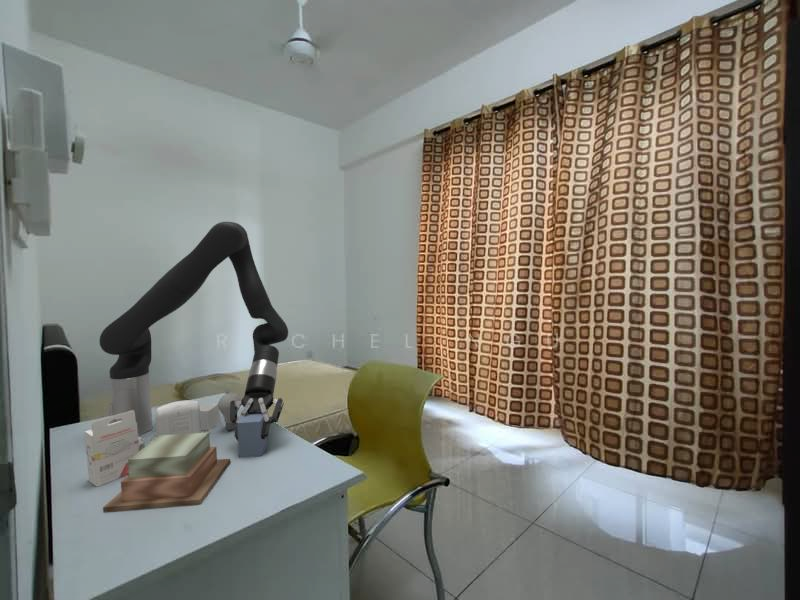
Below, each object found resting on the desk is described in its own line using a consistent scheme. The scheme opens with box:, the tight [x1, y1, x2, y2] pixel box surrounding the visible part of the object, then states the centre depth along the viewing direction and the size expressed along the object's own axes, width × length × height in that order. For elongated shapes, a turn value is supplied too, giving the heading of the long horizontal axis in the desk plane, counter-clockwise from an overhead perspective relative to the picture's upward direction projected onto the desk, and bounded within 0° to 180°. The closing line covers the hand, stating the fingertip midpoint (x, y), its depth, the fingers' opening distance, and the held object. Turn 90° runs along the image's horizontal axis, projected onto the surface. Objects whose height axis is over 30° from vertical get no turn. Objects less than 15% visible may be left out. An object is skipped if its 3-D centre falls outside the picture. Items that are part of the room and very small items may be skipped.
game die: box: [138, 436, 146, 450], centre depth 94 cm, size 4×4×3 cm
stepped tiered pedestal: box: [102, 431, 231, 513], centre depth 77 cm, size 18×16×9 cm
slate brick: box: [237, 414, 268, 458], centre depth 91 cm, size 6×6×9 cm
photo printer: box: [155, 399, 202, 438], centre depth 95 cm, size 10×4×12 cm, turn 123°
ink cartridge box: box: [84, 410, 140, 487], centre depth 81 cm, size 9×5×15 cm, turn 148°
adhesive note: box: [199, 403, 221, 431], centre depth 108 cm, size 6×6×6 cm
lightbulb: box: [217, 392, 242, 431], centre depth 105 cm, size 6×6×11 cm
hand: (250, 438), depth 89 cm, fingers closed on slate brick, 5 cm apart
